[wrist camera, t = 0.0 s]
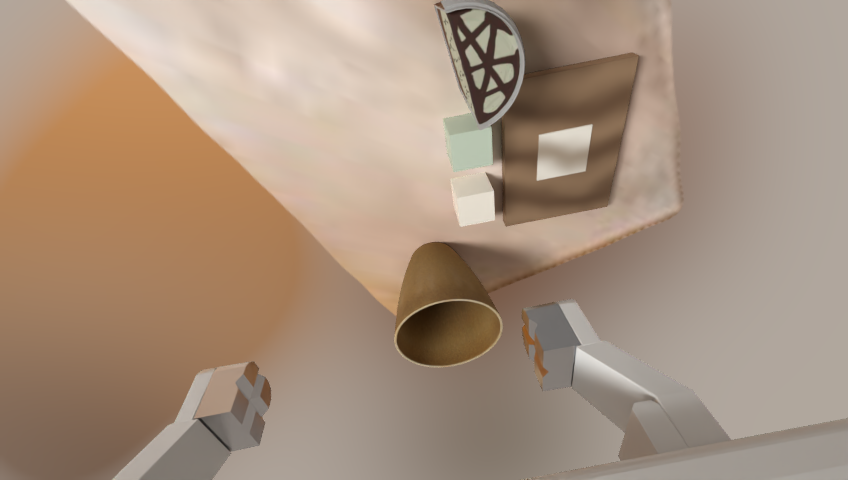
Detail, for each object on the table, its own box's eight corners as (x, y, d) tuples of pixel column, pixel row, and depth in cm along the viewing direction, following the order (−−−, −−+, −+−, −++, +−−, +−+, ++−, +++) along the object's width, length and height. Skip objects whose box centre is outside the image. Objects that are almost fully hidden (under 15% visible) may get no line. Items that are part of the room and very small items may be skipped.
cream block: (450, 178, 53) (456, 198, 50) (484, 171, 53) (493, 190, 50) (453, 206, 57) (460, 226, 53) (486, 200, 57) (495, 220, 53)
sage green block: (442, 118, 47) (449, 135, 44) (481, 110, 47) (491, 127, 44) (447, 153, 51) (453, 172, 47) (483, 146, 51) (492, 164, 47)
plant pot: (488, 267, 66) (515, 345, 54) (413, 298, 69) (423, 378, 57) (457, 207, 57) (482, 285, 45) (372, 245, 60) (373, 328, 48)
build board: (500, 78, 45) (504, 83, 44) (632, 52, 45) (639, 56, 44) (503, 220, 59) (506, 227, 58) (602, 201, 59) (607, 207, 58)
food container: (510, 80, 45) (539, 112, 38) (462, 100, 46) (481, 135, 39) (486, -39, 37) (517, -28, 30) (429, -12, 38) (444, 5, 31)
